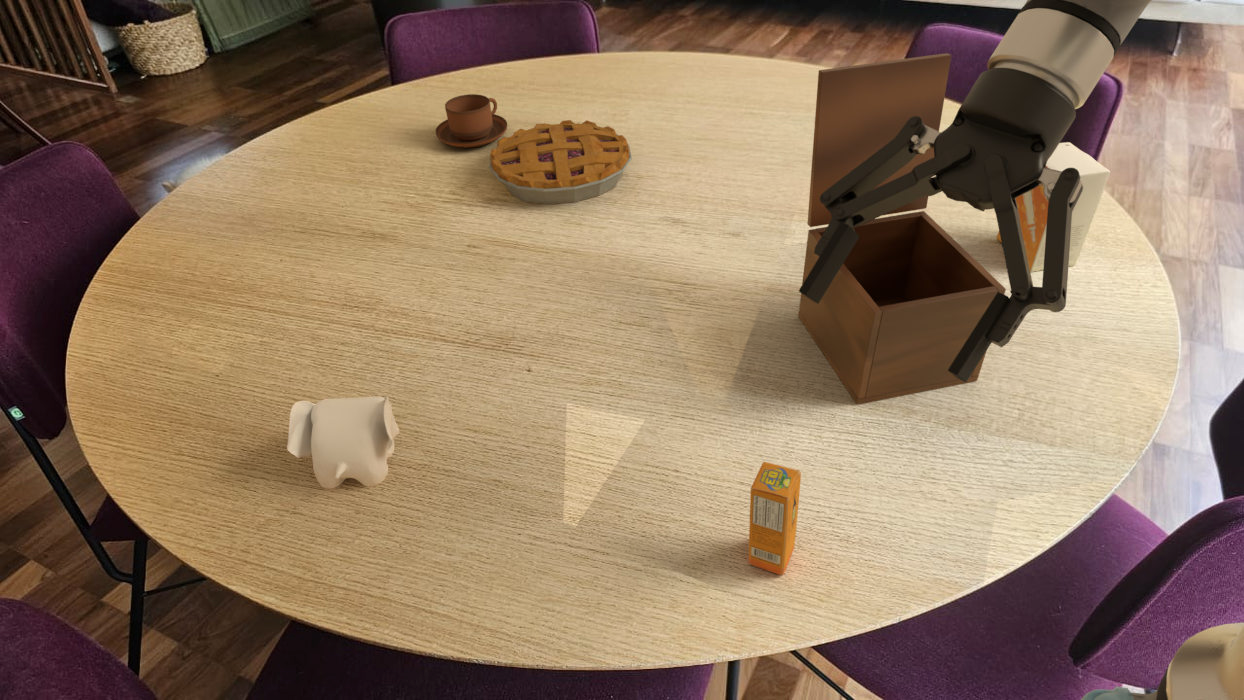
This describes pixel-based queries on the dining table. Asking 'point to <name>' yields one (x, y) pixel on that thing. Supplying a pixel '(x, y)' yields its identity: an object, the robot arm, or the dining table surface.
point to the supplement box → (773, 517)
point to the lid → (871, 119)
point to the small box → (1093, 182)
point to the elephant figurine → (344, 438)
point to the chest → (898, 307)
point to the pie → (560, 162)
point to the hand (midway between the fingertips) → (877, 335)
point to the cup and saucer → (471, 122)
